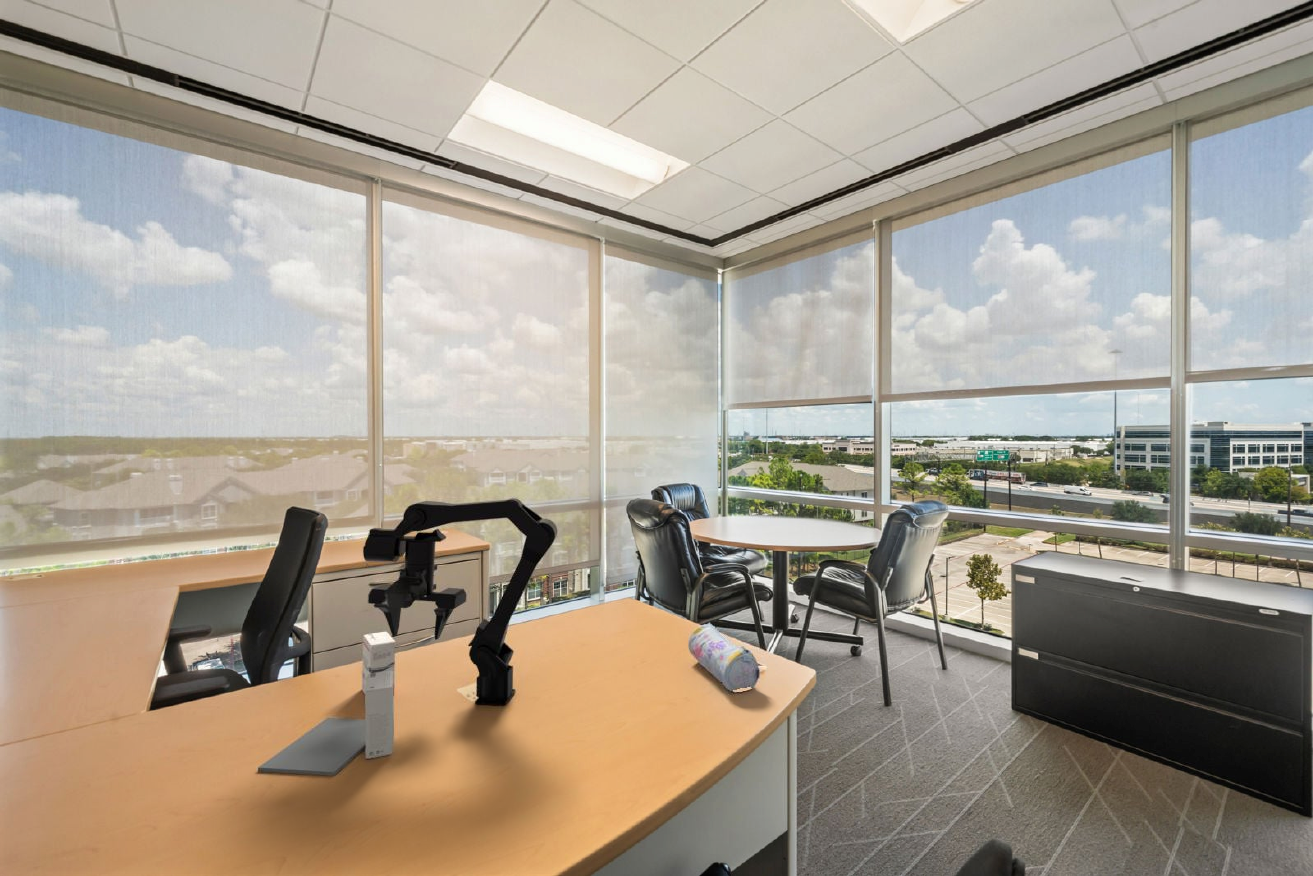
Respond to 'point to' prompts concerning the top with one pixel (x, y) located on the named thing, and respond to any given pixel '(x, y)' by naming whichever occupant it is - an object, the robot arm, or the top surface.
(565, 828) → the top surface
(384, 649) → the ink box
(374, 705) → the skincare box
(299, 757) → the mat
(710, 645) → the pencil case
